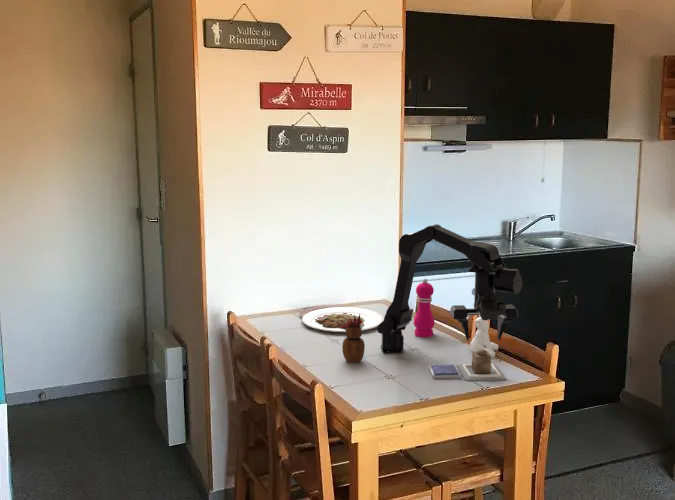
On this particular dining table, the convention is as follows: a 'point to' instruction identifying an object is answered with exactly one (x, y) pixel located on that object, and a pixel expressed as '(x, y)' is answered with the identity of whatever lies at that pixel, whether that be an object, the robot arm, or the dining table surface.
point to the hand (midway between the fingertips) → (483, 340)
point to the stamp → (481, 362)
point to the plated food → (342, 318)
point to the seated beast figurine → (483, 338)
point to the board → (471, 376)
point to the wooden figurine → (353, 342)
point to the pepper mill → (424, 310)
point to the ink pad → (444, 371)
